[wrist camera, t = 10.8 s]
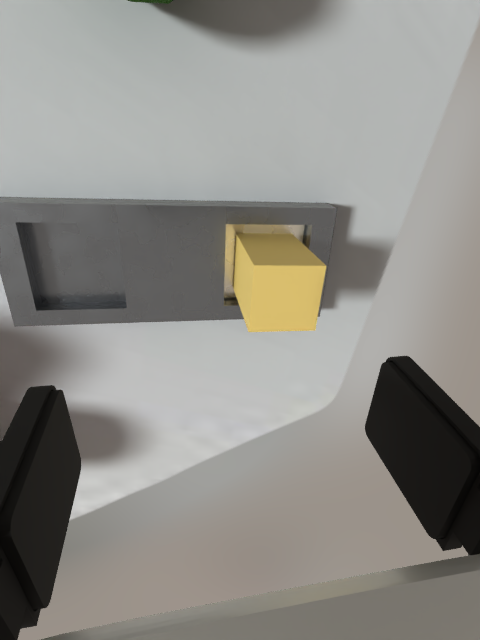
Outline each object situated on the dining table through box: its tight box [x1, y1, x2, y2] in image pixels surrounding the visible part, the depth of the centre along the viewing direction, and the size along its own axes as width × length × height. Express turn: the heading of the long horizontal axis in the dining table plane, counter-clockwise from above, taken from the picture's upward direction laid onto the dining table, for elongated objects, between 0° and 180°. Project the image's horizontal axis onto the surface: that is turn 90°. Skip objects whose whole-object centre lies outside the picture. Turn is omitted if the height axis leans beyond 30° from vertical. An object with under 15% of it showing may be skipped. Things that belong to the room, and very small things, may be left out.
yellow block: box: [233, 233, 326, 332], centre depth 26 cm, size 4×4×8 cm
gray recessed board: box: [0, 197, 337, 326], centre depth 28 cm, size 9×24×2 cm, turn 88°
